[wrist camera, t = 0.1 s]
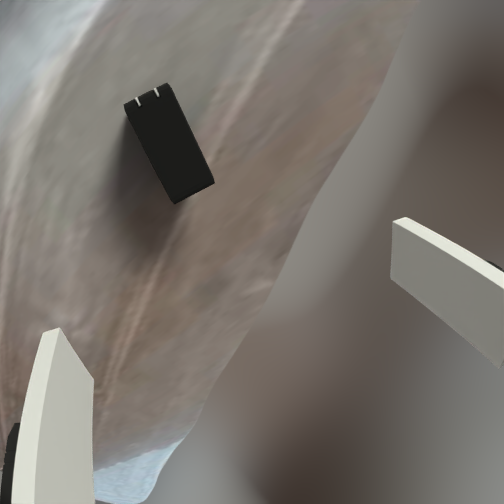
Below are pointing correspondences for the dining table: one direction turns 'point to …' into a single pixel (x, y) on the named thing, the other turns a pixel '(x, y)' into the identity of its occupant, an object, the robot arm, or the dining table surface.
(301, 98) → the dining table surface
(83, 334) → the dining table surface
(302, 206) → the dining table surface
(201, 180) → the electronic device
